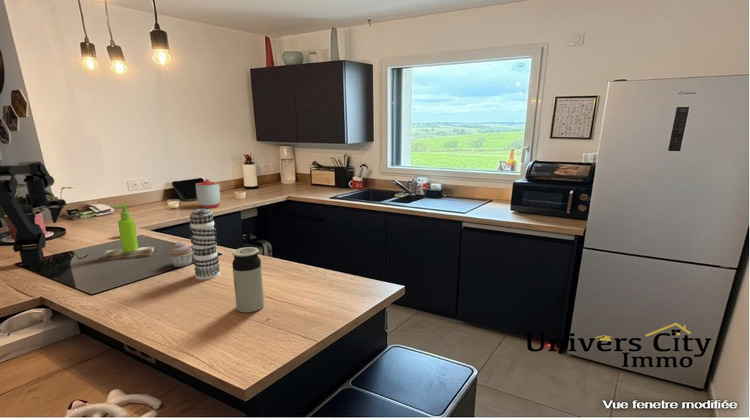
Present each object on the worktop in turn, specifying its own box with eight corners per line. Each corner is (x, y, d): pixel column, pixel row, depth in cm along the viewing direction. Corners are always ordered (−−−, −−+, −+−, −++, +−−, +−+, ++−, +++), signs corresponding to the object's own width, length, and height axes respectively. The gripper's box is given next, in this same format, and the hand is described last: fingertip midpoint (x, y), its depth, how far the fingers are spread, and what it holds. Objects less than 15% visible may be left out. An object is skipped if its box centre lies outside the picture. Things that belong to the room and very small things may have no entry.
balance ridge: (102, 260, 158) (101, 255, 157) (111, 253, 167) (110, 248, 167) (150, 256, 163) (149, 251, 162) (156, 249, 172) (155, 244, 172)
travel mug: (266, 301, 119) (262, 246, 115) (260, 313, 111) (255, 255, 107) (241, 301, 119) (236, 247, 115) (233, 313, 111) (227, 255, 107)
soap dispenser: (119, 249, 164) (111, 204, 160) (137, 246, 169) (130, 202, 164) (120, 253, 160) (113, 207, 156) (139, 249, 164) (132, 204, 160)
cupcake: (200, 261, 156) (198, 238, 154) (183, 269, 147) (180, 245, 145) (182, 259, 158) (179, 236, 156) (164, 267, 149) (161, 243, 147)
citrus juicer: (228, 205, 272) (225, 178, 267) (206, 210, 257) (203, 180, 253) (214, 203, 280) (212, 176, 276) (192, 207, 265) (189, 179, 261)
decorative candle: (195, 272, 143) (187, 208, 138) (221, 269, 147) (215, 206, 141) (193, 281, 135) (185, 213, 130) (221, 277, 138) (214, 211, 133)
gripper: (43, 186, 172) (50, 219, 176) (-4, 194, 154) (5, 230, 158) (63, 187, 170) (70, 220, 174) (19, 195, 152) (27, 232, 156)
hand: (44, 225), depth 166 cm, fingers open, 9 cm apart
